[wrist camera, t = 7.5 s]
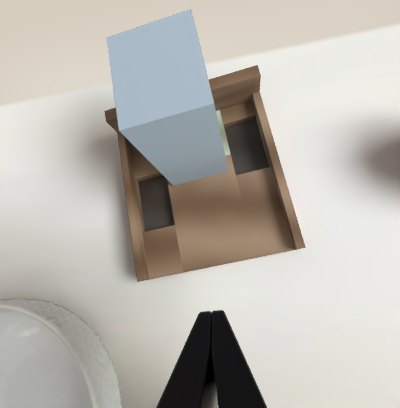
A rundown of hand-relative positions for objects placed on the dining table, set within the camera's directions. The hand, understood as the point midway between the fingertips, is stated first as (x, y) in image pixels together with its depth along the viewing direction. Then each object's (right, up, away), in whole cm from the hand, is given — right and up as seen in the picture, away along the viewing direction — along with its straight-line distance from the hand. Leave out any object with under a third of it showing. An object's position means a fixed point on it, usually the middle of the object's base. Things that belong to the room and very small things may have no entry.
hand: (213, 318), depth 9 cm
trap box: (0, +5, +14) cm, 15 cm away
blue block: (-1, +9, +14) cm, 17 cm away
